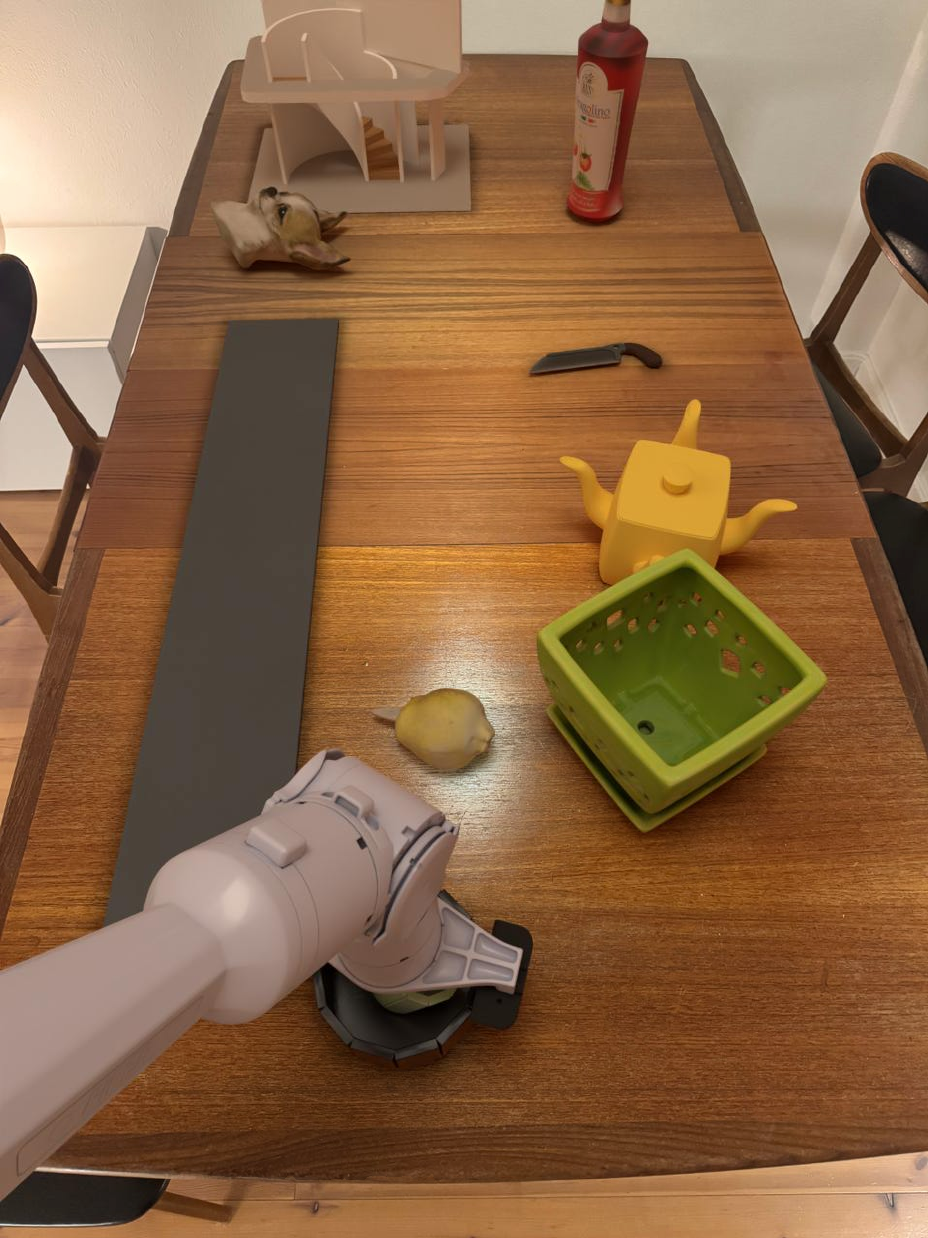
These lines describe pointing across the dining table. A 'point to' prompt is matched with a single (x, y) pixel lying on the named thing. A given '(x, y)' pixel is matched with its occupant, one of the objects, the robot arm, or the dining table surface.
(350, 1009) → the large pot
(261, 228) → the ceramic sculpture
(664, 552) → the teapot
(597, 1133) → the dining table surface
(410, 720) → the fruit
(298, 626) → the mat
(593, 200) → the liquor
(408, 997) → the small pot
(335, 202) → the architectural model
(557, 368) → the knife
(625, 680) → the flower pot
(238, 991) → the robot arm
